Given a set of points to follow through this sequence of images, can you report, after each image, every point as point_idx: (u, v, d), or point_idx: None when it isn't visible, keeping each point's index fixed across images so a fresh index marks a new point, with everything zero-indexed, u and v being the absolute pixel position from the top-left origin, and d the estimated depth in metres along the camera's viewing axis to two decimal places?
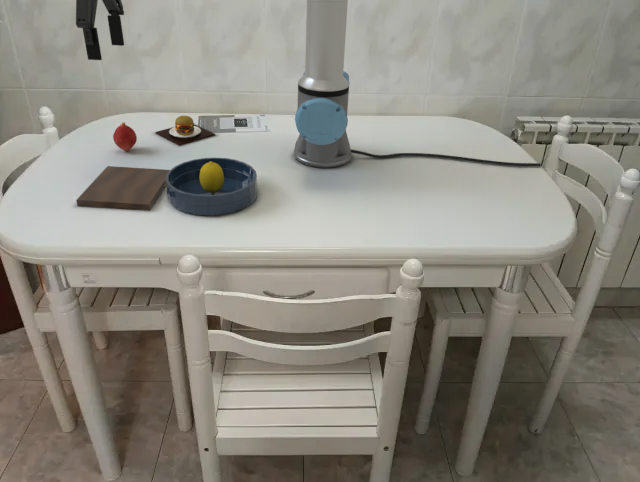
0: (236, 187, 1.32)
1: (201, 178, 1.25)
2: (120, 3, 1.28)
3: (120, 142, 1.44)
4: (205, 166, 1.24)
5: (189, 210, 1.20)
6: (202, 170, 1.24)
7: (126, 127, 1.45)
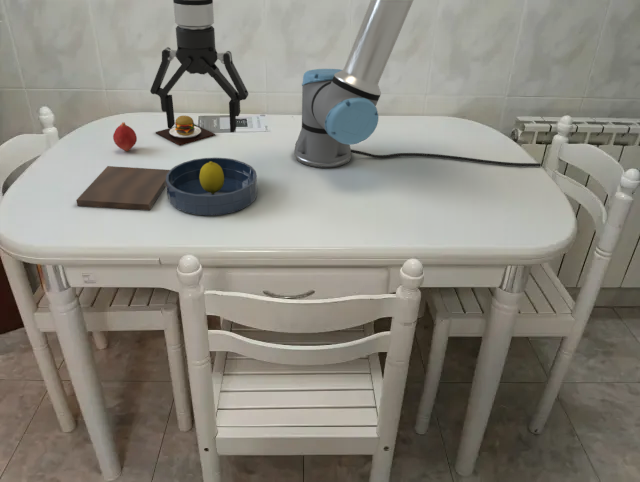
0: (236, 187, 1.32)
1: (201, 178, 1.25)
2: (240, 91, 1.15)
3: (120, 142, 1.44)
4: (205, 166, 1.24)
5: (189, 210, 1.20)
6: (202, 170, 1.24)
7: (126, 127, 1.45)
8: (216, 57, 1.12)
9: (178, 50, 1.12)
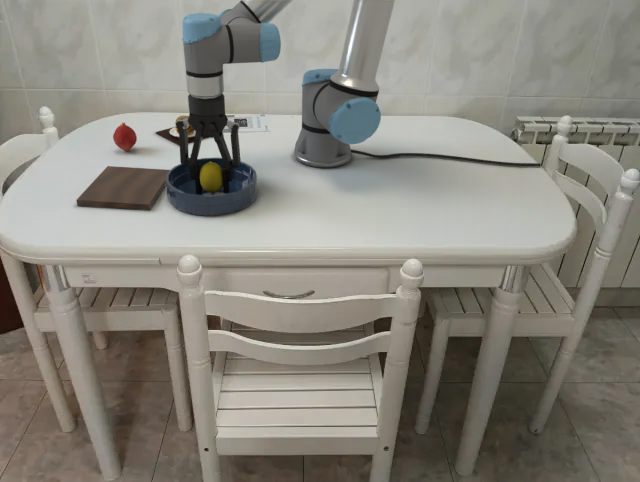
0: (236, 187, 1.32)
1: (201, 178, 1.25)
2: (235, 160, 1.23)
3: (120, 142, 1.44)
4: (205, 166, 1.24)
5: (189, 210, 1.20)
6: (202, 170, 1.24)
7: (126, 127, 1.45)
8: (226, 124, 1.19)
9: (190, 116, 1.18)
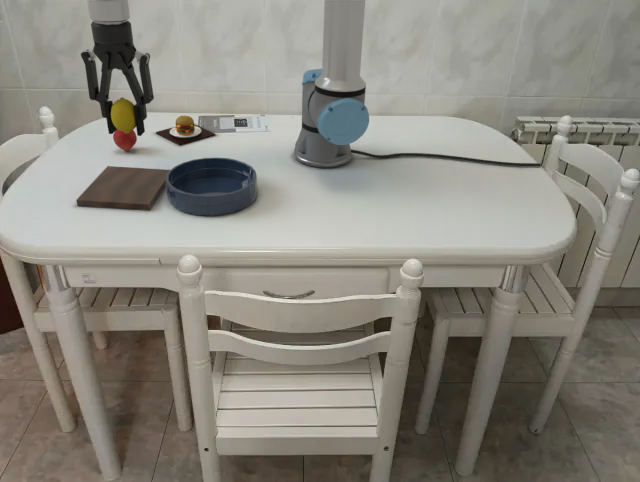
0: (236, 187, 1.32)
1: (112, 115, 1.18)
2: (146, 95, 1.16)
3: (120, 142, 1.44)
4: (116, 102, 1.18)
5: (189, 210, 1.20)
6: (113, 106, 1.18)
7: None
8: (133, 55, 1.12)
9: (95, 45, 1.11)
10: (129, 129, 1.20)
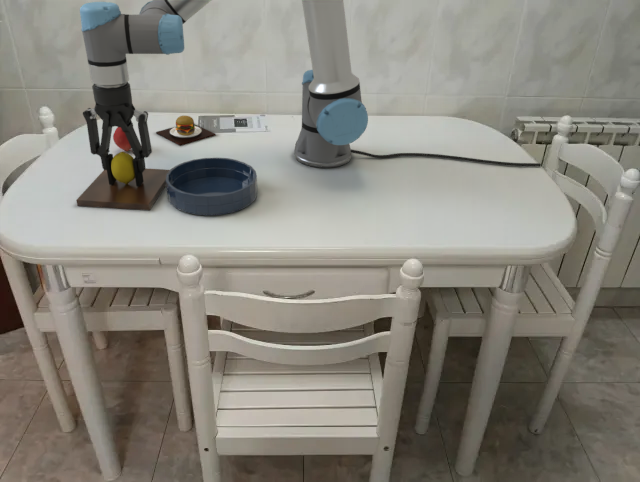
0: (236, 187, 1.32)
1: (112, 168, 1.25)
2: (144, 149, 1.23)
3: (120, 142, 1.44)
4: (116, 156, 1.24)
5: (189, 210, 1.20)
6: (113, 160, 1.24)
7: None
8: (132, 114, 1.19)
9: (96, 105, 1.18)
10: (128, 181, 1.27)
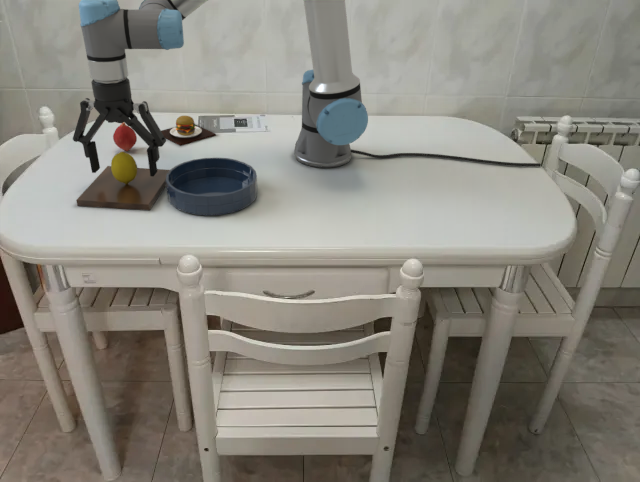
0: (236, 187, 1.32)
1: (112, 168, 1.25)
2: (156, 139, 1.21)
3: (120, 142, 1.44)
4: (116, 156, 1.24)
5: (189, 210, 1.20)
6: (113, 160, 1.24)
7: (126, 127, 1.45)
8: (132, 107, 1.18)
9: (95, 101, 1.18)
10: (128, 180, 1.27)
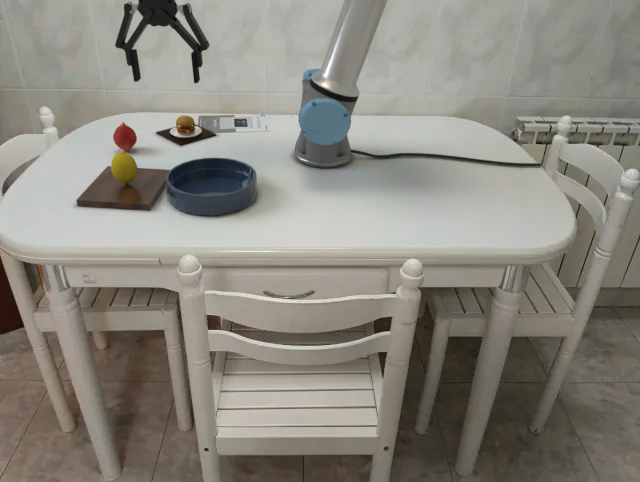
0: (236, 187, 1.32)
1: (112, 168, 1.25)
2: (201, 42, 1.21)
3: (120, 142, 1.44)
4: (116, 156, 1.24)
5: (189, 210, 1.20)
6: (113, 160, 1.24)
7: (126, 127, 1.45)
8: (176, 9, 1.18)
9: (139, 3, 1.17)
10: (128, 180, 1.27)
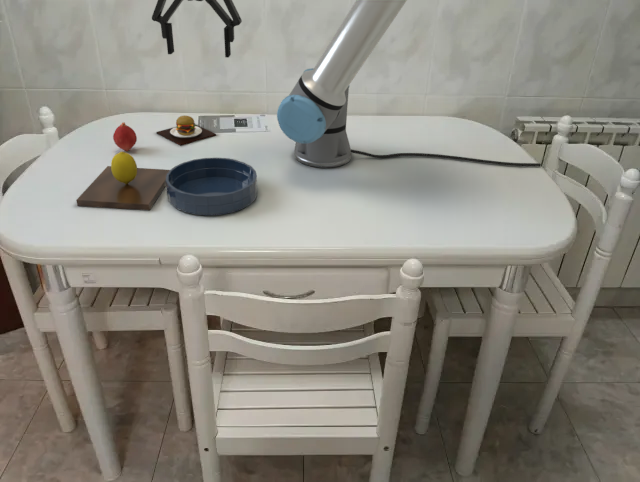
0: (236, 187, 1.32)
1: (112, 168, 1.25)
2: (234, 17, 1.26)
3: (120, 142, 1.44)
4: (116, 156, 1.24)
5: (189, 210, 1.20)
6: (113, 160, 1.24)
7: (126, 127, 1.45)
8: None
9: None
10: (128, 180, 1.27)
